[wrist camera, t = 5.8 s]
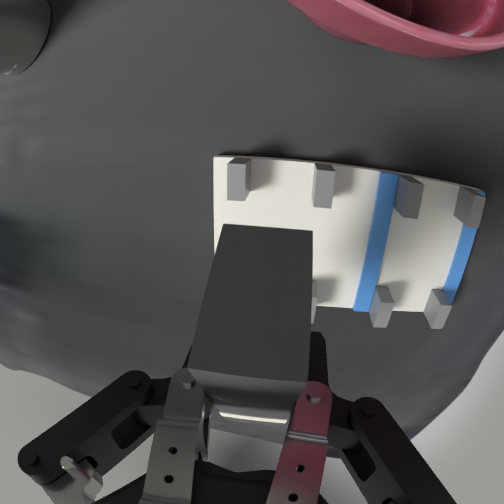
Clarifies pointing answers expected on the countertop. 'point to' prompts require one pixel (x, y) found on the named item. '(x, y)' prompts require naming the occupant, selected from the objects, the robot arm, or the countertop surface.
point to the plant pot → (413, 24)
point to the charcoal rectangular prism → (256, 323)
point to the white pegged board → (359, 229)
